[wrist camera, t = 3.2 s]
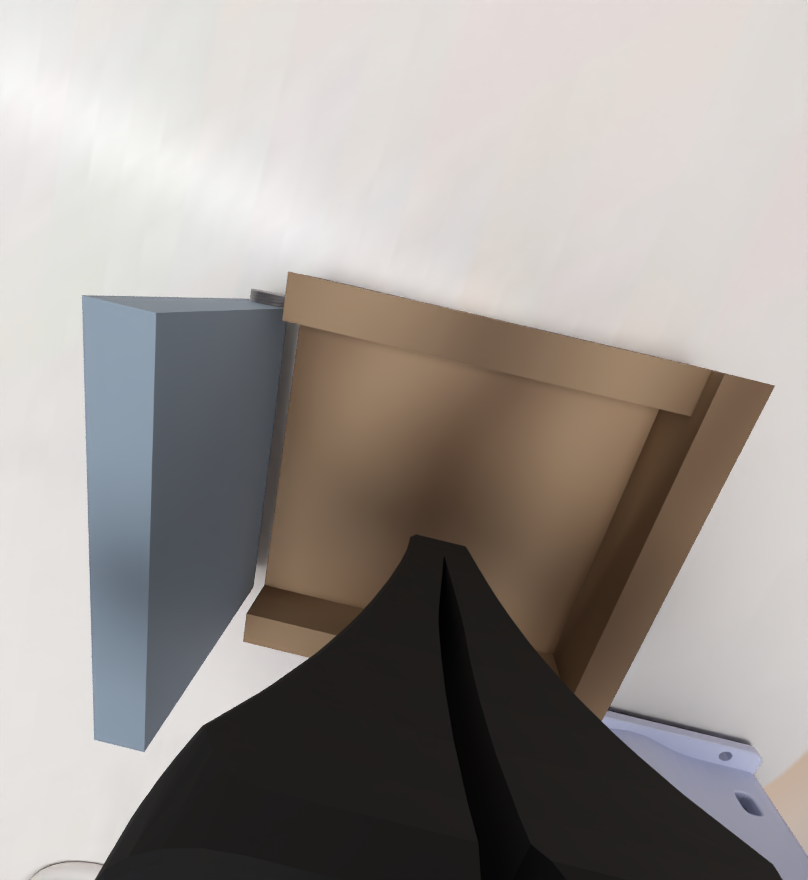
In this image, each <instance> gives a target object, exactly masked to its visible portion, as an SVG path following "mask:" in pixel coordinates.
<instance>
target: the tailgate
mask: <svg viewBox="0 0 808 880" xmlns="http://www.w3.org/2000/svg"><path fill="white" fill-rule="evenodd" d="M284 302H285V296H284V295H281V294H277V293H272V292H268V291H263V290H257V289H251V296H250V299H230V298H182V297H134V296H86V295H82V310H83V346H84V383H85V419H86V455H87V492H88V528H89V565H90V601H91V637H92V674H93V710H94V740H98V741H102V742H106V743H110V744H114V745H118V746H122V747H126V748H130V749H134V750H138V751H142V752H145V750H146V749H147V747H148V746H149V744H150V742H151V741H152V739H153V738H154V736H155V735H156V733H157V732H158V730H159V729H160V727H161V726H162V724H163V723H164V721H165V720H166V718H167V717H168V715H169V714H170V712H171V711H172V709H173V708H174V706H175V705H176V703H177V702H178V700H179V699H180V697H181V696H182V694H183V693H184V691H185V690H186V688H187V686H188V685H189V683H190V682H191V680H192V679H193V677H194V676H195V674H196V673H197V671H198V670H199V668H200V667H201V665H202V664H203V662H204V661H205V659H206V658H207V656H208V655H209V653H210V652H211V650H212V649H213V647H214V646H215V644H216V643H217V641H218V640H219V638H220V637H221V635H222V634H223V632H224V631H225V629H226V627H227V626H228V624H229V623H230V621H231V620H232V618H233V617H234V615H235V614H236V612H237V611H238V609H239V608H240V606H241V605H242V603H243V602H244V600H245V599H246V597H247V596H248V594H249V593H250V592H251V590H252V588H253V586H254V578H255V570H256V562H257V554H258V546H259V538H260V530H261V522H262V514H263V506H264V498H265V490H266V482H267V474H268V466H269V458H270V450H271V442H272V434H273V426H274V418H275V410H276V402H277V394H278V386H279V378H280V370H281V362H282V354H283V346H284V338H285V330H286V322H287V321H283V320H282V319H283V311H284Z"/></svg>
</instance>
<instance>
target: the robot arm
mask: <svg viewBox="0 0 808 880" xmlns="http://www.w3.org/2000/svg"><path fill="white" fill-rule="evenodd" d="M761 762H762V758H761V756H760V755H759V753H758V752H757V750H756V749H755V748H754V747H752V746H750V745H747V744H742V743H738V742H734V741H730V740H726V739H722V738H718V737H714V736H710V735H705V734H701V733H697V732H693V731H689V730H685V729H681V728H677V727H673V726H668V725H664V724H660V723H656V722H652V721H648V720H644V719H640V718H636V717H631V716H627V715H623V714H619V713H615V712H611V711H607V712H606V714H605V716H604V718H603V720H602V721H601V720H600V719H599V718H598V717H597V716H596V715H595V714H594V713H593V712H592V711H591V710H590V709H589V708H588V707H587V706H586V705H585V704H584V703H583V702H582V701H581V700H580V699H579V698H578V697H577V696H576V695H575V694H574V693H573V692H572V691H571V690H570V689H569V688H568V687H567V686H566V685H565V683H564V682H563V681H562V680H561V679H560V678H559V677H558V676H557V674H556V673H555V672H554V671H553V670H552V669H551V668H550V666H549V665H548V664H547V663H546V662H545V661H544V660H543V658H542V657H541V656H540V655H539V654H538V652H537V651H536V650H535V649H534V648H533V646H532V645H531V644H530V643H529V641H528V640H527V639H526V637H525V636H524V635H523V633H522V632H521V631H520V629H519V628H518V627H517V625H516V624H515V623H514V621H513V620H512V619H511V617H510V616H509V614H508V613H507V611H506V610H505V609H504V607H503V606H502V604H501V603H500V601H499V600H498V598H497V597H496V595H495V594H494V592H493V591H492V589H491V587H490V586H489V584H488V583H487V581H486V579H485V578H484V576H483V574H482V573H481V571H480V569H479V568H478V566H477V564H476V563H475V561H474V559H473V558H472V556H471V554H470V553H469V551H468V549H467V548H466V546H462V545H458V544H454V543H450V542H446V541H442V540H438V539H433V538H429V537H425V536H421V535H417V534H415V535H413V536H412V537H410V540H409V543H408V547H407V550H406V552H405V554H404V556H403V558H402V560H401V562H400V563H399V565H398V566H397V568H396V569H395V571H394V572H393V574H392V575H391V577H390V578H389V580H388V581H387V582H386V584H385V585H384V586H383V587H382V588H381V590H380V591H379V592H378V593H377V595H376V596H375V597H374V598H373V599H372V601H371V602H370V603H369V604H368V605H367V606H366V607H365V608H364V610H363V611H362V612H361V613H360V614H359V615H358V616H357V617H356V618H355V619H354V620H353V621H352V622H351V623H350V624H349V625H348V626H347V627H346V628H344V629H343V630H342V631H341V632H340V633H339V634H338V635H337V636H335V637H334V638H333V639H332V640H331V641H330V642H329V643H327V644H326V645H325V646H324V647H323V648H321V649H320V650H319V651H318V652H317V653H315V654H314V655H313V656H311V657H310V658H309V659H308V660H306V661H305V662H303V663H302V664H300V665H299V666H298V667H296V668H295V669H293V670H292V671H291V672H289V673H288V674H286V675H285V676H283V677H282V678H281V679H279V680H278V681H276V682H275V683H274V684H272V685H271V686H269V687H268V688H266V689H264V690H263V691H261V692H260V693H258V694H256V695H255V696H253V697H251V698H250V699H248V700H246V701H244V702H243V703H241V704H239V705H238V706H236V707H234V708H232V709H231V710H229V711H227V712H226V713H224V714H222V715H220V716H219V717H217V718H215V719H214V720H212V721H210V722H208V723H206V724H205V725H203V726H202V727H201V728H200V729H199V730H198V732H197V733H196V734H195V735H194V736H193V737H192V739H191V740H190V741H189V742H188V743H187V744H186V746H185V747H184V748H183V749H182V750H181V752H180V753H179V754H178V755H177V756H176V758H175V759H174V760H173V761H172V763H171V764H170V765H169V767H168V768H167V769H166V770H165V772H164V773H163V774H162V775H161V777H160V778H159V779H158V781H157V782H156V784H155V785H154V786H153V788H152V789H151V791H150V792H149V793H148V795H147V796H146V797H145V799H144V800H143V801H142V803H141V804H140V806H139V807H138V809H137V810H136V812H135V813H134V815H133V816H132V818H131V820H130V821H129V823H128V825H127V826H126V828H125V830H124V831H123V833H122V835H121V836H120V838H119V840H118V841H117V843H116V845H115V846H114V848H113V850H112V851H111V853H110V855H109V856H108V858H107V860H106V862H105V863H104V865H103V867H102V868H101V870H100V872H99V873H98V875H97V877H96V878H95V880H808V856H807V854H806V853H805V851H804V850H803V848H802V847H801V845H800V844H799V842H798V841H797V839H796V838H795V836H794V835H793V833H792V832H791V830H790V828H789V827H788V826H787V824H786V823H785V821H784V819H783V818H782V816H781V815H780V813H779V812H778V810H777V809H776V807H775V806H774V804H773V803H772V801H771V800H770V798H769V797H768V795H767V794H766V792H765V791H764V789H763V788H762V786H761V785H760V783H759V782H758V780H757V779H756V777H755V776H754V773H755V771H756V770H757V769H758V767H759V766H760V764H761Z"/></svg>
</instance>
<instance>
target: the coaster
mask: <svg viewBox="0 0 808 880" xmlns="http://www.w3.org/2000/svg"><path fill="white" fill-rule="evenodd" d="M102 867H103V865H100V864H96V863H88V862H64V863H58V864H55V865H52V866H49V867H47V868H45V869H43V870H41V871H39V872H38V873H37V874H35V875H34V876H33V877H32V878H31V879H30V880H95V878H96V877H97V875H98V873H99V872H100V870H101V868H102Z"/></svg>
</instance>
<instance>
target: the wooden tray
mask: <svg viewBox="0 0 808 880" xmlns="http://www.w3.org/2000/svg"><path fill="white" fill-rule="evenodd" d="M282 320H283V321H287V322H291V323H296V324H300V327H299V334H298V341H297V349H296V356H295V364H294V371H293V378H292V386H291V393H290V400H289V408H288V415H287V423H286V430H285V437H284V445H283V452H282V460H281V467H280V474H279V482H278V489H277V497H276V504H275V511H274V519H273V526H272V533H271V541H270V548H269V556H268V563H267V570H266V578H265V585H264V587H263V588H262V590H261V591H260V593H259V595H258V596H257V598H256V599H255V601H254V603H253V604H252V606H251V607H250V609H249V611H248V612H247V614H246V622H245V631H244V639H243V642H247V643H251V644H256V645H260V646H264V647H268V648H272V649H276V650H280V651H284V652H288V653H292V654H297V655H301V656H305V657H309V658H310V657H311V656H313V655H314V654H315V653H317V652H318V651H319V650H320V649H321V648H323V647H324V646H325V645H326V644H327V643H329V642H330V641H331V640H332V639H333V638H334V637H335V636H337V635H338V634H339V633H340V632H341V631H342V630H343V629H344V628H346V627H347V626H348V625H349V624H350V623H351V622H352V621H353V620H354V619H355V618H356V617H357V616H358V615H359V614H360V613H361V612H362V611H363V610H364V608H365V607H366V606H367V605H368V604H369V603H370V602H371V601H372V599H373V598H374V597H375V596H376V595H377V593H378V592H379V591H380V590H381V588H382V587H383V586H384V585H385V584H386V582H387V581H388V580H389V578H390V577H391V575H392V574H393V572H394V571H395V569H396V568H397V566H398V565H399V563H400V562H401V560H402V558H403V556H404V554H405V552H406V550H407V547H408V543H409V540H410V537H412V536H413V535H415V534H417V535H421V536H425V537H429V538H433V539H438V540H442V541H446V542H450V543H454V544H458V545H462V546H466V548H467V549H468V551H469V553H470V554H471V556H472V558H473V559H474V561H475V563H476V564H477V566H478V568H479V569H480V571H481V573H482V574H483V576H484V578H485V579H486V581H487V583H488V584H489V586H490V587H491V589H492V591H493V592H494V594H495V595H496V597H497V598H498V600H499V601H500V603H501V604H502V606H503V607H504V609H505V610H506V611H507V613H508V614H509V616H510V617H511V619H512V620H513V621H514V623H515V624H516V625H517V627H518V628H519V629H520V631H521V632H522V633H523V635H524V636H525V637H526V639H527V640H528V641H529V643H530V644H531V645H532V646H533V648H534V649H535V650H536V651H537V652H538V654H539V655H540V656H541V657H542V658H543V660H544V661H545V662H546V663H547V664H548V665H549V666H550V668H551V669H552V670H553V671H554V672H555V673H556V674H557V676H558V677H559V678H560V679H561V680H562V681H563V682H564V683H565V685H566V686H567V687H568V688H569V689H570V690H571V691H572V692H573V693H574V694H575V695H576V696H577V697H578V698H579V699H580V700H581V701H582V702H583V703H584V704H585V705H586V706H587V707H588V708H589V709H590V710H591V711H592V712H593V713H594V714H595V715H596V716H597V717H598V718H599V719H600V720H601V721H602V720H603V718H604V716H605V714H606V712H607V710H608V708H609V706H610V705H611V703H612V701H613V699H614V697H615V695H616V693H617V691H618V689H619V687H620V685H621V683H622V681H623V679H624V677H625V675H626V674H627V672H628V670H629V668H630V666H631V664H632V662H633V660H634V658H635V656H636V654H637V652H638V650H639V648H640V646H641V644H642V642H643V641H644V639H645V637H646V635H647V633H648V631H649V629H650V627H651V625H652V623H653V621H654V619H655V617H656V615H657V613H658V611H659V610H660V608H661V606H662V604H663V602H664V600H665V598H666V596H667V594H668V592H669V590H670V588H671V586H672V584H673V582H674V580H675V579H676V577H677V575H678V573H679V571H680V569H681V567H682V565H683V563H684V561H685V559H686V557H687V555H688V553H689V551H690V549H691V547H692V546H693V544H694V542H695V540H696V538H697V536H698V534H699V532H700V530H701V528H702V526H703V524H704V522H705V520H706V518H707V516H708V515H709V513H710V511H711V509H712V507H713V505H714V503H715V501H716V499H717V497H718V495H719V493H720V491H721V489H722V487H723V485H724V484H725V482H726V480H727V478H728V476H729V474H730V472H731V470H732V468H733V466H734V464H735V462H736V460H737V458H738V456H739V454H740V452H741V451H742V449H743V447H744V445H745V443H746V441H747V439H748V437H749V435H750V433H751V431H752V429H753V427H754V425H755V423H756V421H757V420H758V418H759V416H760V414H761V412H762V410H763V408H764V406H765V404H766V402H767V400H768V398H769V396H770V394H771V392H772V390H773V388H774V387H775V386H774V385H770V384H766V383H762V382H758V381H754V380H750V379H746V378H742V377H737V376H733V375H729V374H725V373H721V372H717V371H713V370H709V369H705V368H701V367H697V366H693V365H689V364H685V363H680V362H676V361H672V360H668V359H663V358H659V357H655V356H651V355H646V354H642V353H638V352H633V351H629V350H625V349H621V348H616V347H612V346H608V345H604V344H599V343H595V342H591V341H586V340H582V339H578V338H574V337H569V336H565V335H561V334H556V333H552V332H548V331H544V330H539V329H535V328H531V327H527V326H522V325H518V324H514V323H509V322H505V321H501V320H497V319H492V318H488V317H484V316H480V315H475V314H471V313H467V312H462V311H458V310H454V309H450V308H445V307H441V306H437V305H433V304H428V303H424V302H420V301H415V300H411V299H407V298H403V297H398V296H394V295H390V294H386V293H381V292H377V291H373V290H368V289H364V288H360V287H356V286H351V285H347V284H343V283H338V282H334V281H330V280H326V279H321V278H317V277H312V276H307V275H302V274H297V273H292V272H288V278H287V286H286V294H285V302H284V311H283V319H282Z"/></svg>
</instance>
